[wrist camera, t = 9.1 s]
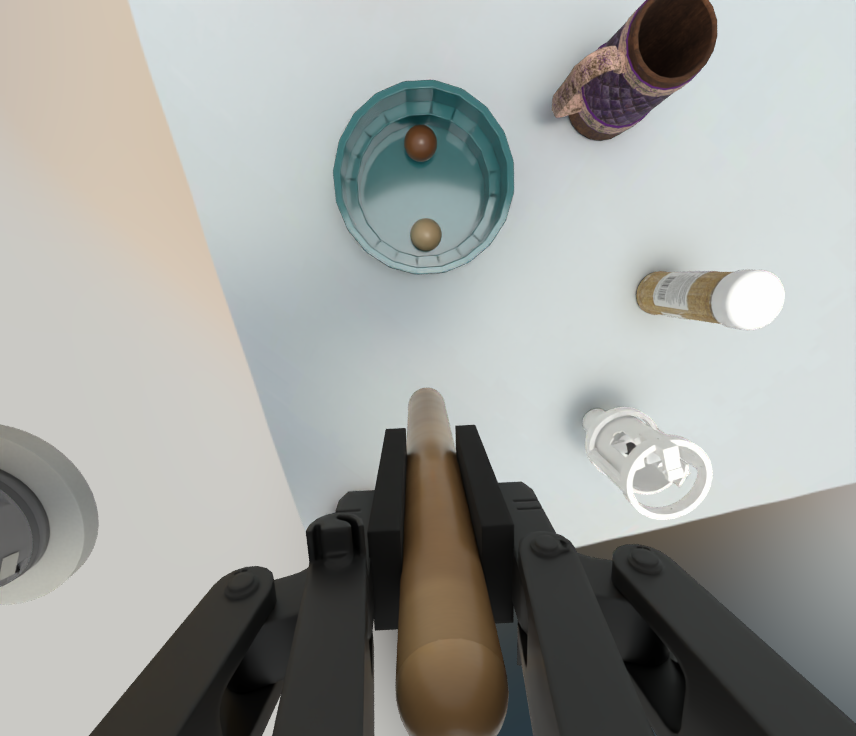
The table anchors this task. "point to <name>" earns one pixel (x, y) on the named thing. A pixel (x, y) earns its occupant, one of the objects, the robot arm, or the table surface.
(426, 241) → the bead
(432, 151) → the bead
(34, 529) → the robot arm
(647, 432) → the white cylindrical cage
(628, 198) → the table surface
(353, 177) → the bowl
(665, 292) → the sprinkles bottle
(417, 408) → the stick
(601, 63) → the mug
